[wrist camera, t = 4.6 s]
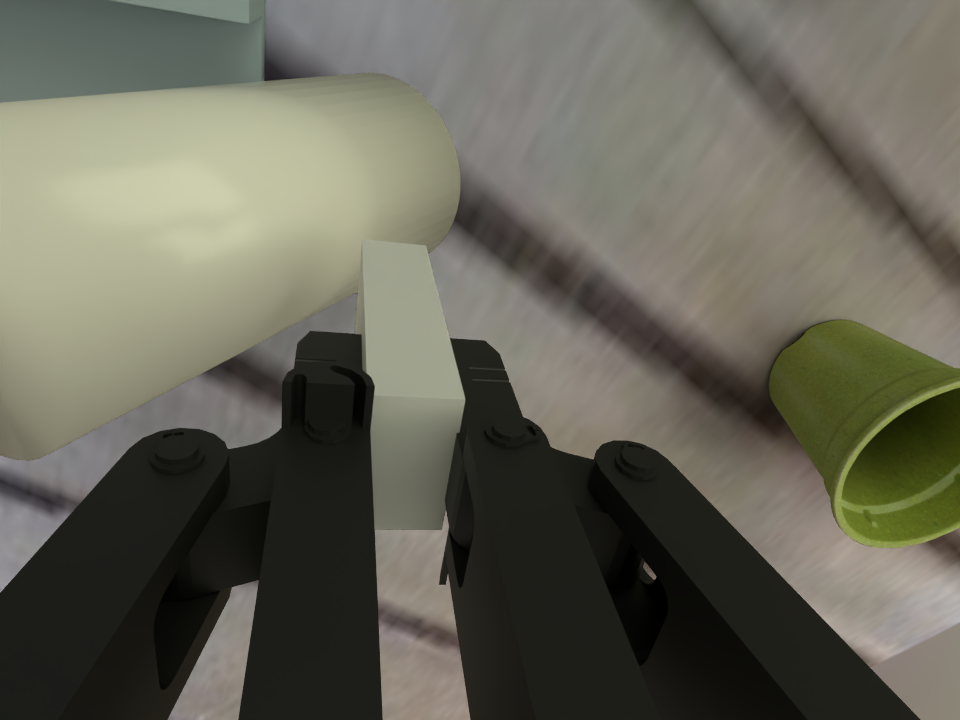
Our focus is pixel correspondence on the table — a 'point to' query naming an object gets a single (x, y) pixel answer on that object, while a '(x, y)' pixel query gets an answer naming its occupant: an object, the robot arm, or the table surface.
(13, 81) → the grey-green cradle
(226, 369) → the table surface
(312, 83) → the cream bottle
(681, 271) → the table surface
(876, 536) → the plant pot
